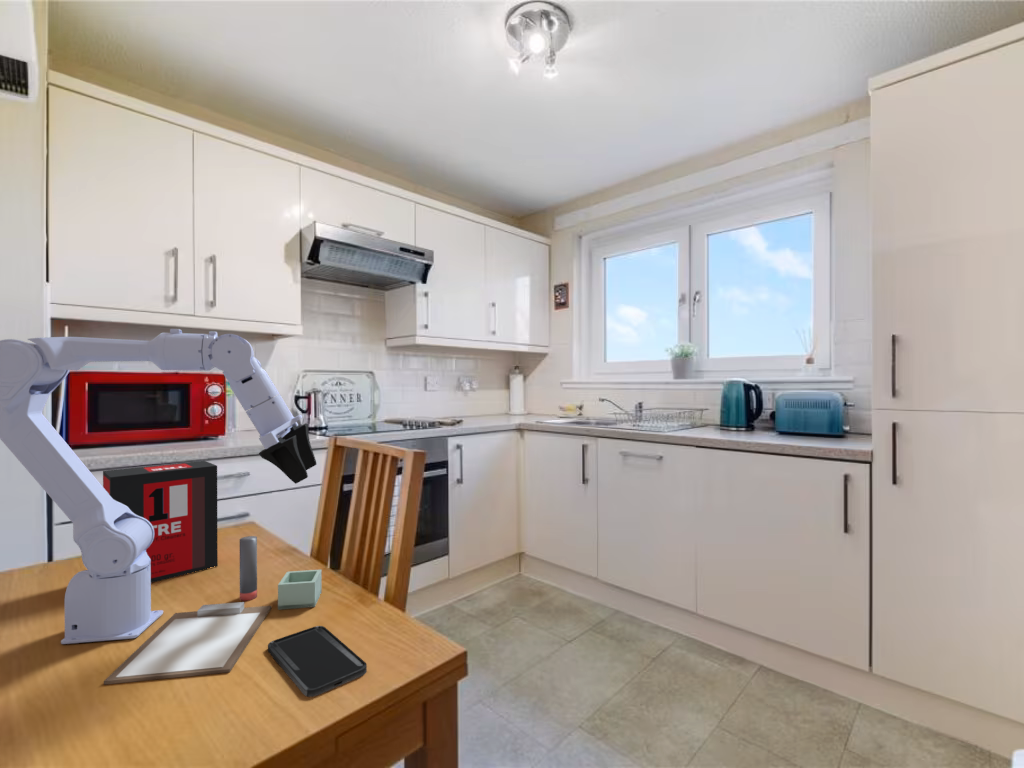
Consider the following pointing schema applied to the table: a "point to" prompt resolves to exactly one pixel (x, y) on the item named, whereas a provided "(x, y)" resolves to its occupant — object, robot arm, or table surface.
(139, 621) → the robot arm
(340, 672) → the phone
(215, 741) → the table surface
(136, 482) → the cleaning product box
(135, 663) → the clipboard
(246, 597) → the marker
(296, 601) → the box
